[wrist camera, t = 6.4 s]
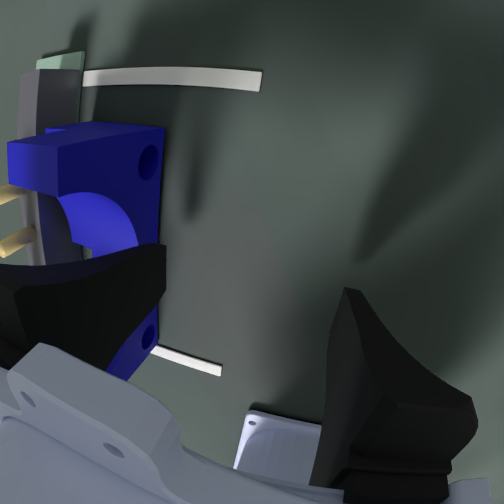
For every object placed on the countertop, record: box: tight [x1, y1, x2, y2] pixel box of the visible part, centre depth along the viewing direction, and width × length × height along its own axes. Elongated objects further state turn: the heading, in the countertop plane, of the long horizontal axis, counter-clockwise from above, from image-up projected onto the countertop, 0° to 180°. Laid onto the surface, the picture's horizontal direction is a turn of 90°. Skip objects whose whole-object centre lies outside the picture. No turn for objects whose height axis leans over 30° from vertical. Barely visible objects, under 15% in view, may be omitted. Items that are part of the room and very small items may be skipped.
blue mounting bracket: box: [7, 121, 165, 381], centre depth 13 cm, size 12×4×6 cm, turn 171°
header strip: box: [0, 51, 85, 266], centre depth 14 cm, size 18×4×5 cm, turn 172°
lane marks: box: [83, 67, 262, 376], centre depth 15 cm, size 16×9×1 cm, turn 172°
